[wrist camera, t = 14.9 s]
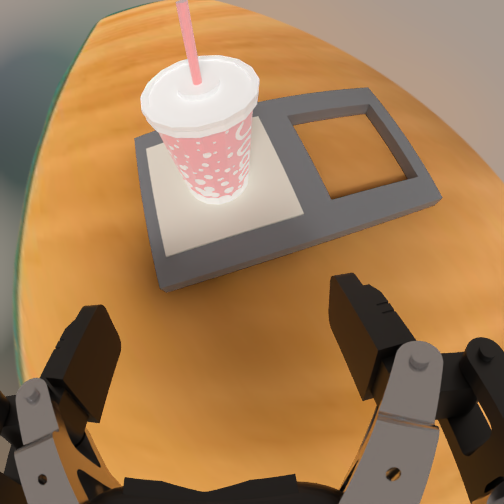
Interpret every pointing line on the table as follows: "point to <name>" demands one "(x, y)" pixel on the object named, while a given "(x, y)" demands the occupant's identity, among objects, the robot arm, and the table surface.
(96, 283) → the table surface
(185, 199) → the hole board
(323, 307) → the table surface
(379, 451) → the robot arm
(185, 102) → the beverage cup
